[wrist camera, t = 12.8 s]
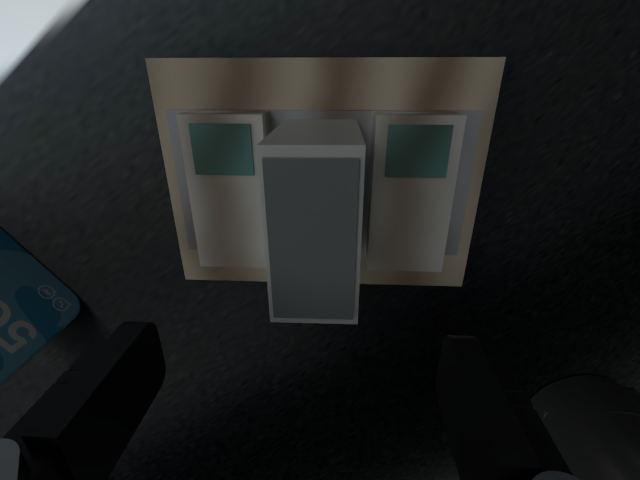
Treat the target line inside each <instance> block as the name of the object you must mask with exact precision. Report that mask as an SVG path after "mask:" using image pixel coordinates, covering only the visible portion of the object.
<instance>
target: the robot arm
mask: <svg viewBox="0 0 640 480" xmlns="http://www.w3.org/2000/svg"><path fill="white" fill-rule="evenodd" d="M164 377H165V361H164V356H163V352H162V348H161V343H160V339H159V334H158V330H157V327H156V325H155V324H154V323H152V322H123V323H122V324H121V325H120V326H119V327H118V328H117V329H116V330H115V331H114V332H113V334H112V335H111V336H110V337H109V338H108V339H103V340H101V341H100V342H98V343H96V344H95V345H93V346H92V347H90V348H89V349H87V350H86V351H84V352H83V353H82V354H81V355H80V356H79V357H78V358H77V359H76V360H75V361H74V362H73V364H72V365H71V366H70V367H69V370H68V371H65V372H64V373H63V374H62V375H61V376H60V377H59V378H58V379H57V382H56V384H53V385H52V386H51V387H50V388H49V389H48V390H47V391H46V392H45V393H44V394H43V395H42V396H41V397H40V399H39V400H38V401H37V402H36V403H35V404H34V405H33V406H32V407H31V408H30V409H29V410H28V411H27V412H26V413H25V414H24V416H23V417H22V418H21V419H20V420H19V421H18V422H17V423H16V424H15V425H14V426H13V427H12V428H11V429H10V430H9V431H8V433H7V434H6V435H5V436H4V437H3V438H0V480H107V479H108V477H109V475H110V473H111V472H112V470H113V468H114V467H115V465H116V463H117V461H118V460H119V458H120V456H121V455H122V453H123V451H124V450H125V448H126V446H127V444H128V443H129V441H130V439H131V438H132V436H133V434H134V432H135V431H136V429H137V427H138V426H139V424H140V422H141V421H142V419H143V417H144V415H145V414H146V412H147V410H148V409H149V407H150V405H151V403H152V402H153V400H154V398H155V397H156V395H157V393H158V392H159V390H160V388H161V386H162V384H163V381H164ZM436 393H437V400H438V404H439V407H440V411H441V414H442V418H443V421H444V425H445V428H446V432H447V435H448V439H449V442H450V446H451V449H452V452H453V456H454V459H455V463H456V466H457V470H458V473H459V477H460V480H640V394H639V393H638V392H637V391H636V390H634V389H625V388H623V387H621V386H620V385H618V384H617V383H616V382H615V381H612V380H610V379H608V378H605V377H600V376H594V375H581V376H572V377H568V378H564V379H561V380H558V381H556V382H553V383H551V384H549V385H548V386H546V387H544V388H542V389H541V390H540V391H539V392H537V393H536V394H535V395H534V396H533V397H532V398H531V400H530V399H529V397H528V396H527V394H525V393H524V389H523V387H522V385H521V384H520V382H519V380H518V378H517V377H516V375H515V373H514V372H513V371H512V370H511V369H510V368H509V367H508V366H506V365H505V364H504V363H503V362H502V361H501V360H500V359H499V358H498V357H486V355H485V353H484V351H483V349H482V347H481V345H480V343H479V341H478V339H477V338H476V337H475V336H455V335H446V336H445V337H444V339H443V344H442V349H441V355H440V360H439V366H438V371H437V377H436Z"/></svg>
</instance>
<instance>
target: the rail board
mask: <svg viewBox="0 0 640 480" xmlns="http://www.w3.org/2000/svg"><path fill="white" fill-rule="evenodd" d="M505 59H506V57H382V58H145V60H146V65H147V71H148V76H149V82H150V87H151V93H152V98H153V104H154V109H155V115H156V120H157V126H158V131H159V136H160V142H161V147H162V153H163V158H164V164H165V169H166V175H167V180H168V186H169V191H170V197H171V202H172V208H173V213H174V219H175V224H176V230H177V235H178V241H179V246H180V252H181V257H182V263H183V268H184V274H185V279H193V280H232V281H267V273H266V261H265V248H264V235H263V223H262V210H261V197H260V185H259V172H258V159H257V147H256V145H257V144H258V143H259V142H260V141H261V140H263V139H264V138H265V137H266V136H267V135H268V134H270V133H271V132H272V131H273V130H274V129H275V128H277V127H278V126H279V125H280V124H281V123H282V122H283V121H285V120H286V119H357V122H358V125H359V127H360V130H361V133H362V136H363V139H364V141H365V144H366V153H365V174H364V196H363V218H362V240H361V261H360V283H359V284H389V285H428V286H462V283H463V278H464V273H465V267H466V262H467V257H468V252H469V247H470V241H471V236H472V231H473V226H474V220H475V215H476V210H477V205H478V200H479V194H480V189H481V184H482V179H483V174H484V168H485V163H486V158H487V153H488V147H489V142H490V137H491V132H492V127H493V121H494V116H495V111H496V106H497V101H498V95H499V90H500V85H501V80H502V75H503V69H504V64H505Z"/></svg>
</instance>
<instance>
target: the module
mask: <svg viewBox="0 0 640 480" xmlns="http://www.w3.org/2000/svg"><path fill="white" fill-rule="evenodd" d="M256 147H257V159H258V172H259V185H260V197H261V210H262V223H263V235H264V248H265V261H266V273H267V286H268V299H269V311H270V322H291V323H329V324H358V305H359V283H360V261H361V240H362V218H363V196H364V174H365V153H366V144H365V141H364V139H363V136H362V133H361V130H360V127H359V125H358V122H357V119H286V120H285V121H283V122H282V123H281V124H280V125H279V126H278V127H277V128H275V129H274V130H273V131H272V132H271V133H270V134H268V135H267V136H266V137H265V138H264V139H263V140H261V141H260V142H259V143H258V144H257V145H256Z"/></svg>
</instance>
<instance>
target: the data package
mask: <svg viewBox="0 0 640 480" xmlns="http://www.w3.org/2000/svg"><path fill="white" fill-rule="evenodd" d="M79 311H80V302H79V299H78V297H77V296H76V295H75V294H74V293H73V292H72V291H71V290H70V289H69V288H68V287H67V286H65V285H64V284H63V283H62V282H61V281H60V280H59V279H58V278H56V277H55V276H54V275H53V274H52V273H51V272H50V271H49V270H47V269H46V268H45V267H44V266H43V265H42V264H41V263H39V262H38V261H37V260H36V259H35V258H34V257H33V256H32V255H30V254H29V253H28V252H27V251H26V250H25V249H24V248H23V247H21V246H20V245H19V244H18V243H17V242H16V241H15V240H14V239H12V238H11V237H10V236H9V235H8V234H7V233H6V232H5V231H3V230H2V229H1V228H0V387H1V386H2V385H3V384H5V383H6V382H7V381H8V380H9V379H10V378H11V377H12V376H13V375H14V374H15V373H16V372H18V371H19V370H20V369H21V368H22V367H23V366H24V365H25V364H26V363H27V362H28V361H29V360H30V359H32V358H33V357H34V356H35V355H36V354H37V353H38V352H39V351H40V350H41V349H42V348H43V347H44V346H46V345H47V344H48V343H49V342H50V341H51V340H52V339H53V338H54V337H55V336H56V335H57V334H59V333H60V332H61V331H62V330H63V329H64V328H65V327H66V326H67V325H68V324H69V323H70V322H71V321H73V320H74V319H75V318H76V317H77V315H78V314H79Z"/></svg>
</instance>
